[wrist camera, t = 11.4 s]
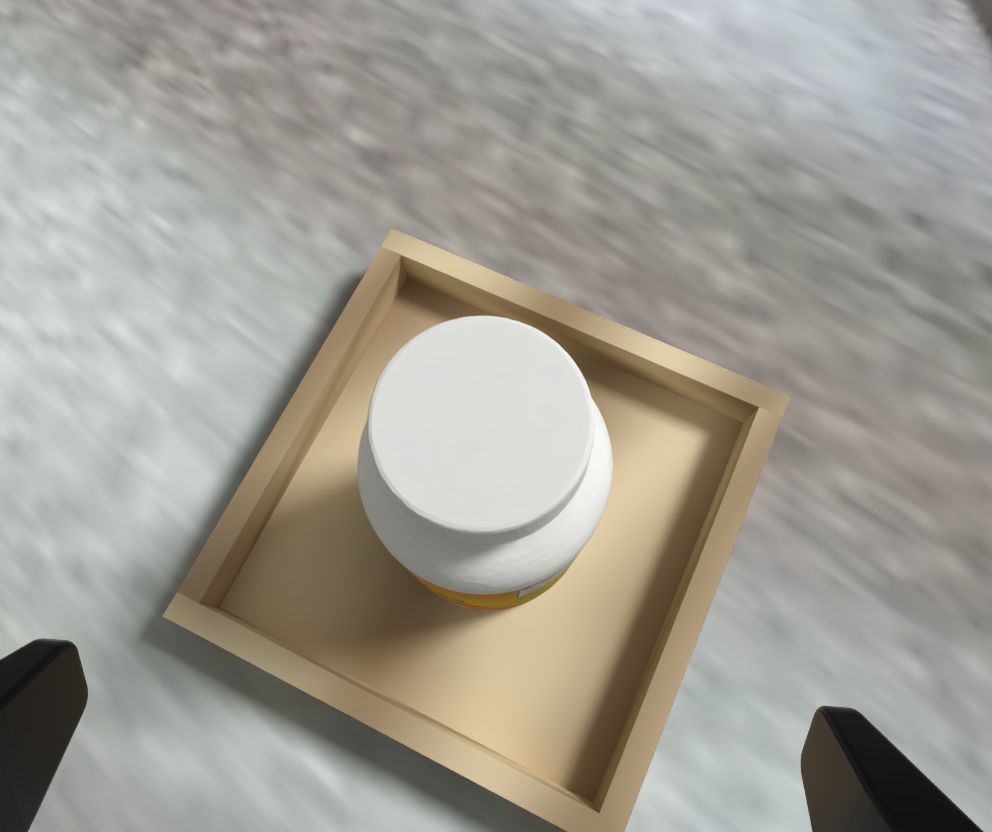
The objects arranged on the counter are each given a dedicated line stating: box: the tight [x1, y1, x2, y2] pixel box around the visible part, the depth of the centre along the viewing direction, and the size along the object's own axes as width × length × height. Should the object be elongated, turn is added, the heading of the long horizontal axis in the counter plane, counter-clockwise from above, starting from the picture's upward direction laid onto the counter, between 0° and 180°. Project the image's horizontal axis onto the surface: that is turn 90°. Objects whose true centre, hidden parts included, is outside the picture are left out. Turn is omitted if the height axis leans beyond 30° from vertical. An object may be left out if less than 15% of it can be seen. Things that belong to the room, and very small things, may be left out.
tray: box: [163, 229, 790, 832], centre depth 22 cm, size 13×13×2 cm
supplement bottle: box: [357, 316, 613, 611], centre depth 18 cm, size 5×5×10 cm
